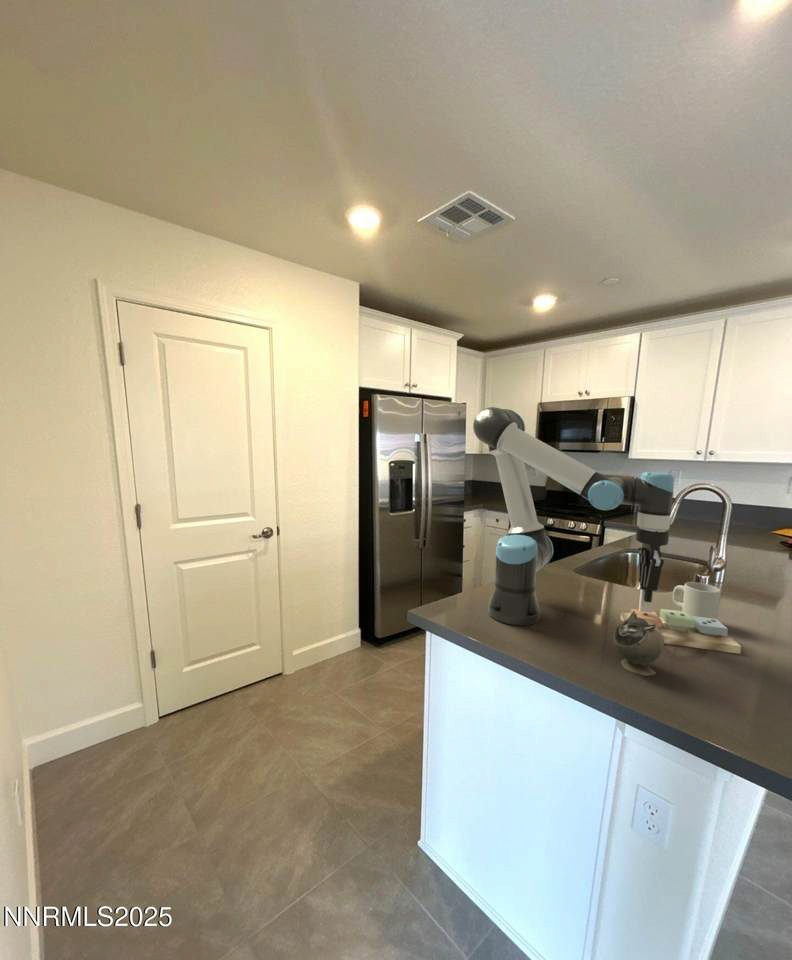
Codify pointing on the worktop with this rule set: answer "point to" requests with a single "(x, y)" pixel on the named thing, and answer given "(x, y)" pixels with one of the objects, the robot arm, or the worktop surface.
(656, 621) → the terracotta tile
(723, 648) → the board
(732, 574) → the worktop surface
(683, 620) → the sage tile
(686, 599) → the mug
